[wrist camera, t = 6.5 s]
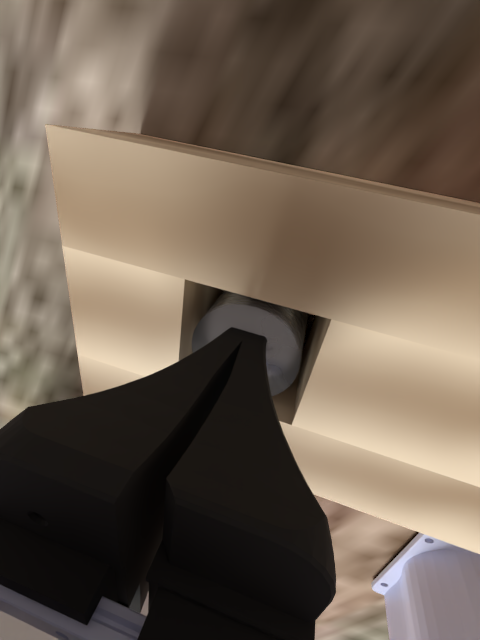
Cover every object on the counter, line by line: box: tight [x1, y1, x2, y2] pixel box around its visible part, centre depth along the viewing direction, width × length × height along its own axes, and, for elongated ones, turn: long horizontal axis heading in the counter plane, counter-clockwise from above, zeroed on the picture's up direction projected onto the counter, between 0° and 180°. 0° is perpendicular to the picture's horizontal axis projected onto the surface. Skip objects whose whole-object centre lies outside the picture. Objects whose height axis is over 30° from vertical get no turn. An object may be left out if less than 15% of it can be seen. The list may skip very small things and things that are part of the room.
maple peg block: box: [45, 124, 480, 554], centre depth 12 cm, size 12×26×5 cm, turn 80°
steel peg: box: [192, 290, 308, 396], centre depth 13 cm, size 4×4×5 cm
